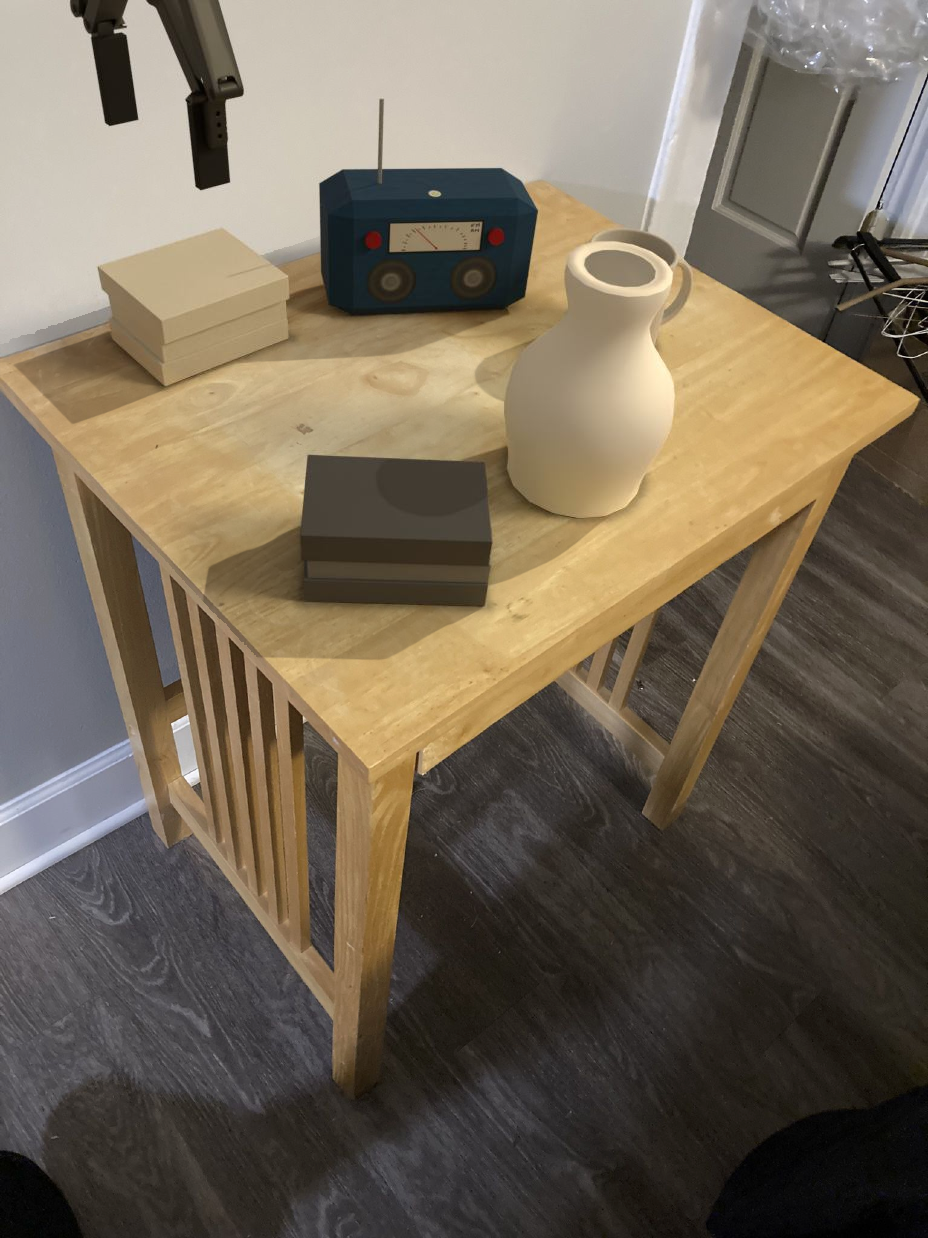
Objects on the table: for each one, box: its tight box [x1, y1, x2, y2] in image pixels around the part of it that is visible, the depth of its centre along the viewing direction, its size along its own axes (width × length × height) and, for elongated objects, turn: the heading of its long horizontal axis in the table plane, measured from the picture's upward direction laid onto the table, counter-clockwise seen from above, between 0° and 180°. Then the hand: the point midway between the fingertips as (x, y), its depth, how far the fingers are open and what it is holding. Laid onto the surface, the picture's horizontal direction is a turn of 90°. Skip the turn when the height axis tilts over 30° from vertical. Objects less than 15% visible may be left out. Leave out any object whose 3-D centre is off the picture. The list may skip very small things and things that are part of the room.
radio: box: [318, 98, 539, 317], centre depth 97 cm, size 21×9×20 cm, turn 103°
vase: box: [503, 241, 676, 519], centre depth 80 cm, size 14×14×20 cm
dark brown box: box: [299, 454, 493, 607], centre depth 75 cm, size 14×9×7 cm, turn 93°
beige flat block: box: [96, 227, 290, 344], centre depth 91 cm, size 14×11×2 cm
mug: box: [588, 227, 694, 347], centre depth 99 cm, size 11×10×10 cm
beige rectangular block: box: [107, 294, 289, 387], centre depth 94 cm, size 14×10×5 cm
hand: (165, 152), depth 79 cm, fingers open, 13 cm apart
